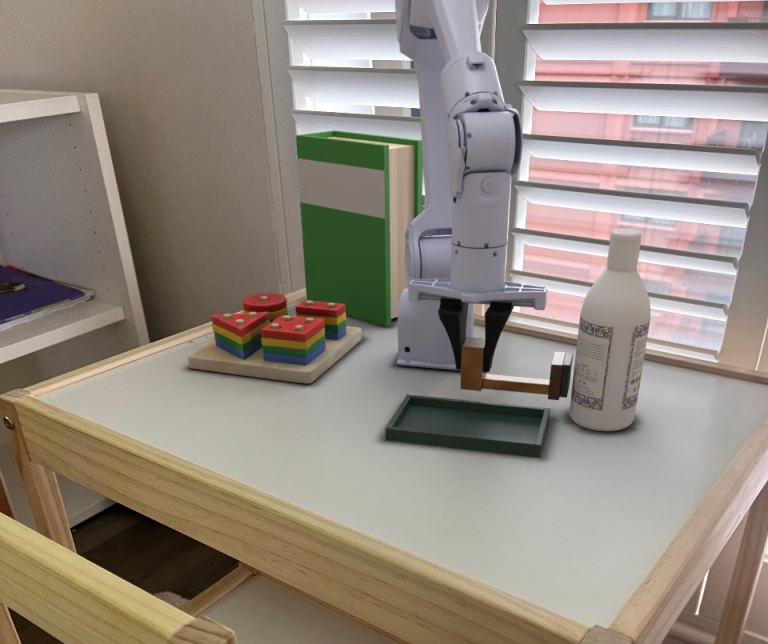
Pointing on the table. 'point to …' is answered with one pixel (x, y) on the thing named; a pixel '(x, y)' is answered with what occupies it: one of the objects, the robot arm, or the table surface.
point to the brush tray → (470, 425)
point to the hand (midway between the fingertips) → (473, 367)
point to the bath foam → (612, 340)
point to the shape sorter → (277, 340)
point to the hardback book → (358, 218)
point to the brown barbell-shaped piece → (478, 379)
